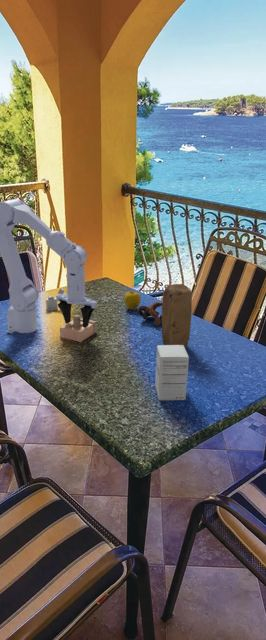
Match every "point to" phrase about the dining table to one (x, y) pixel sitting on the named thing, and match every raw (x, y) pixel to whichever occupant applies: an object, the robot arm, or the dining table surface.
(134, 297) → the apple
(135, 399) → the dining table surface
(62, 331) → the sliding block
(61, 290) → the lighter
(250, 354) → the dining table surface
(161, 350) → the supplement box
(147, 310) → the dark brown irregular piece
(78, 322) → the dowel
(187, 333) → the block
